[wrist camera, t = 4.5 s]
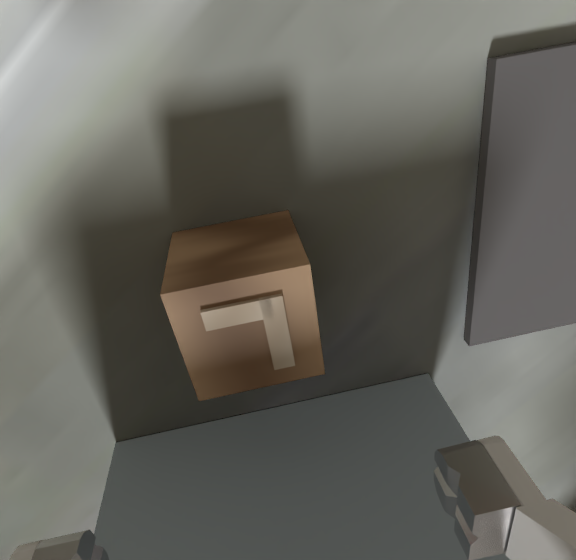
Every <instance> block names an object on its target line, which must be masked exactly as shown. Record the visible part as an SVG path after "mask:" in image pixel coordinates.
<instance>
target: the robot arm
mask: <svg viewBox="0 0 576 560" xmlns="http://www.w3.org/2000/svg"><path fill="white" fill-rule="evenodd" d="M434 460H435V462H436V464H437V468H436V469H435V470H434V483H435V488H436V492H437V494H438V497H439V500H440V502H441V504H442V507H443V509H444V511H445V512H446V513H448V514H449V515H450V516H452V517H453V518H454V519H455V524H454V532H455V534H456V536H457V538H458V540H459V542H460V544H461V546H462V548H463V550H464V553H465V555H466V557H467V559H468V560H475V559H479V558H484V557H489V556H494V555H498V554H503V553H506V556H507V557H508V558H509V559H510V560H576V513H575V512H574V511H572V510H570V509H569V508H567V507H565V506H564V505H562V504H560V503H559V502H557V501H556V500H554V499H549V500H546V499H545V497H544V496H543V495H542V493H541V492H540V490H539V489H538V488H537V486H536V485H535V483H534V482H533V481H532V479H531V478H530V476H529V475H528V473H527V472H526V471H525V469H524V468H523V466H522V465H521V464H520V462H519V461H518V459H517V458H516V457H515V455H514V454H513V452H512V451H511V450H510V448H509V447H508V445H507V444H506V443H505V441H504V440H503V439H502V438H501V437H499V436H492V437H488V438H484V439H479V440H473V441H469V442H465V443H461V444H457V445H453V446H449V447H445V448H441V449H437V450H436V451H435V455H434ZM95 539H96V537H95V535H94V534H93V533H92V532H91V531H90V530H86V531H82V532H78V533H73V534H69V535H64V536H60V537H56V538H51V539H47V540H40V541H36V542H32V543H28V544H24V545H19V546H18V547H17V549H16V550H15V551H14V553H13V554H12V555H11V558H10V560H109V557H108V554H107V552H106V551H105V549H104V548H103V547H101V546H98V545H95Z"/></svg>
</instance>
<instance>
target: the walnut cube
mask: <svg viewBox="0 0 576 560" xmlns="http://www.w3.org/2000/svg"><path fill="white" fill-rule="evenodd" d="M160 296H161V299H162V301H163V304H164V307H165V309H166V312H167V315H168V318H169V320H170V323H171V326H172V329H173V331H174V334H175V337H176V340H177V342H178V345H179V348H180V351H181V353H182V356H183V359H184V362H185V364H186V367H187V370H188V373H189V375H190V378H191V381H192V384H193V386H194V389H195V392H196V395H197V397H198V400H199V401H203V400H207V399H212V398H216V397H221V396H226V395H230V394H235V393H239V392H244V391H249V390H253V389H258V388H263V387H267V386H272V385H276V384H281V383H286V382H290V381H295V380H299V379H304V378H309V377H313V376H318V375H322V374H325V369H324V362H323V355H322V347H321V340H320V332H319V325H318V318H317V310H316V303H315V296H314V288H313V281H312V274H311V266H310V262H309V260H308V258H307V255H306V253H305V250H304V248H303V245H302V243H301V240H300V238H299V235H298V233H297V231H296V228H295V226H294V223H293V221H292V218H291V216H290V213H289V211H288V210H286V211H280V212H275V213H270V214H265V215H260V216H255V217H250V218H245V219H239V220H234V221H229V222H224V223H219V224H214V225H209V226H204V227H198V228H193V229H188V230H183V231H178V232H173V233H172V237H171V242H170V247H169V252H168V257H167V262H166V268H165V273H164V278H163V283H162V288H161V293H160Z"/></svg>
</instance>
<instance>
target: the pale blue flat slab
mask: <svg viewBox="0 0 576 560" xmlns="http://www.w3.org/2000/svg"><path fill="white" fill-rule="evenodd" d="M469 441H470V440H469V438H468V437H467V435H466V434H465V432H464V430H463V429H462V427H461V426H460V424H459V422H458V421H457V419H456V417H455V416H454V414H453V413H452V411H451V409H450V408H449V406H448V405H447V403H446V401H445V400H444V398H443V396H442V395H441V393H440V392H439V390H438V388H437V387H436V385H435V384H434V382H433V380H432V379H431V377H430V375H429V374H423V375H419V376H414V377H410V378H405V379H401V380H396V381H392V382H387V383H383V384H378V385H374V386H369V387H365V388H360V389H356V390H351V391H347V392H342V393H338V394H333V395H329V396H324V397H320V398H315V399H311V400H306V401H301V402H297V403H292V404H288V405H283V406H279V407H274V408H270V409H265V410H261V411H256V412H252V413H247V414H243V415H238V416H234V417H229V418H225V419H220V420H216V421H211V422H207V423H202V424H198V425H193V426H189V427H184V428H180V429H175V430H171V431H166V432H162V433H157V434H153V435H148V436H144V437H139V438H135V439H130V440H126V441H121V442H116V444H115V448H114V452H113V456H112V461H111V465H110V469H109V473H108V478H107V482H106V486H105V490H104V494H103V499H102V503H101V507H100V511H99V516H98V520H97V524H96V528H95V533H94V535H95V537H96V539H95V545H98V546H101V547H103V548H104V549H105V551H106V552H107V554H108V557H109V560H468V559H467V557H466V555H465V553H464V550H463V548H462V546H461V544H460V542H459V540H458V538H457V536H456V534H455V532H454V524H455V519H454V518H453V517H452V516H450V515H449V514H448V513H446V512H445V511H444V509H443V507H442V504H441V502H440V500H439V497H438V494H437V492H436V488H435V483H434V470H435V469H436V468H437V464H436V462H435V460H434V455H435V451H436V450H437V449H441V448H445V447H449V446H453V445H457V444H461V443H465V442H469ZM475 560H510V559H509V558H508V557H507V556H506V553H503V554H498V555H494V556H489V557H484V558H479V559H475Z"/></svg>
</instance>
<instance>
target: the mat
mask: <svg viewBox="0 0 576 560" xmlns="http://www.w3.org/2000/svg"><path fill="white" fill-rule="evenodd" d="M573 323H576V42H573V43H567V44H562V45H557V46H551V47H546V48H541V49H535V50H530V51H524V52H519V53H514V54H508V55H503V56H497V57H492V58H488V63H487V75H486V86H485V98H484V110H483V121H482V133H481V145H480V157H479V168H478V180H477V192H476V203H475V215H474V227H473V238H472V250H471V262H470V274H469V285H468V297H467V309H466V320H465V332H464V340H465V341H466V343H467V344H468V345H469V346H473V345H477V344H482V343H487V342H491V341H496V340H500V339H505V338H509V337H514V336H518V335H523V334H528V333H532V332H537V331H541V330H546V329H550V328H555V327H559V326H564V325H569V324H573Z"/></svg>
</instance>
